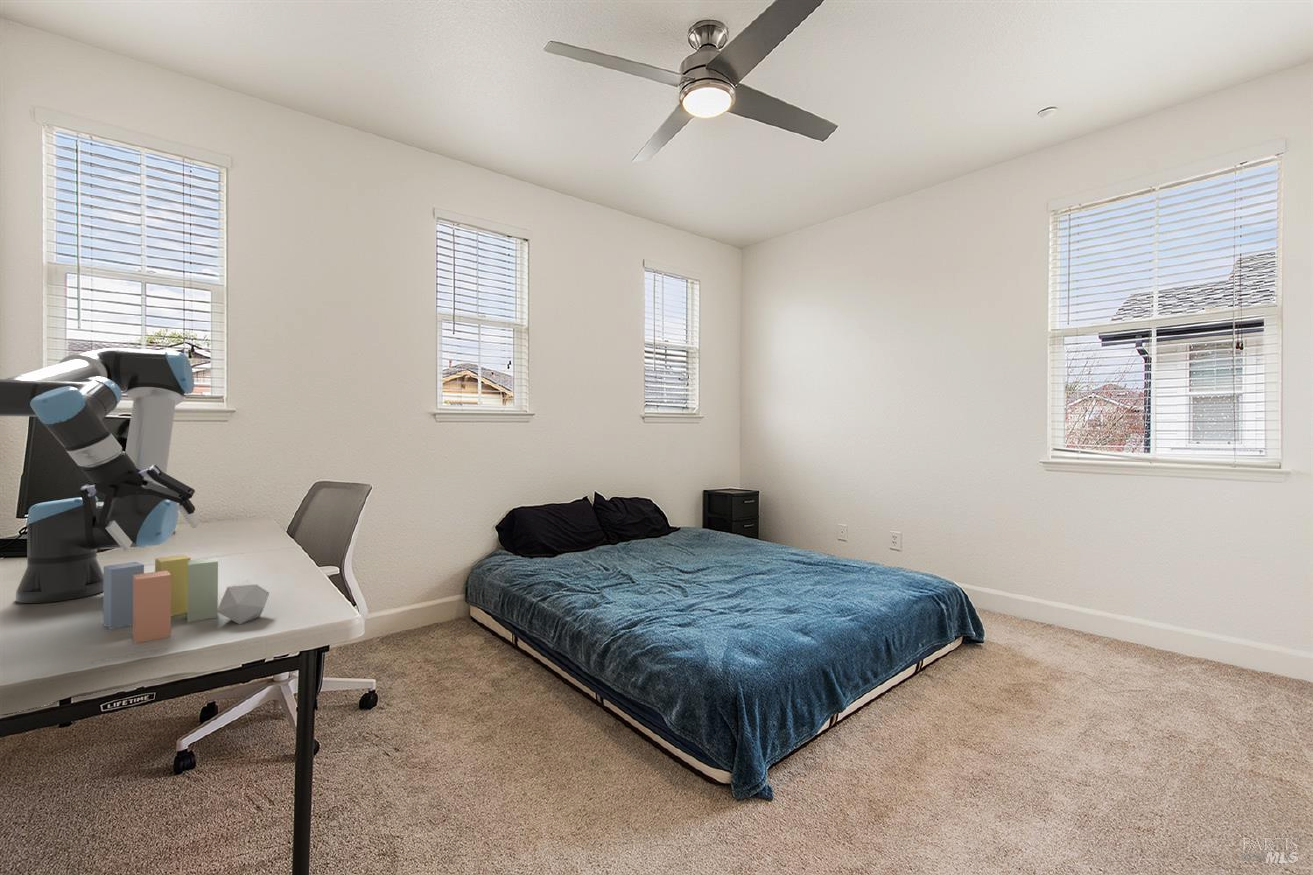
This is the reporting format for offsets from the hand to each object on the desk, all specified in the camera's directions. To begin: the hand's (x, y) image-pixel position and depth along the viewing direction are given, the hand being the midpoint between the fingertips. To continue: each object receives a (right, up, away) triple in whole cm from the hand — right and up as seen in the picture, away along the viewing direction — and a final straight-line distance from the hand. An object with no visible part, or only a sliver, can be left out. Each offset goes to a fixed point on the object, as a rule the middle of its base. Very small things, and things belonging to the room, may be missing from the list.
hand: (162, 535), depth 129 cm
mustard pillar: (+6, -16, -5) cm, 18 cm away
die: (+25, -17, -9) cm, 31 cm away
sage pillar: (+15, -16, -7) cm, 23 cm away
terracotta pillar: (+15, -16, -19) cm, 29 cm away
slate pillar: (+2, -16, -12) cm, 20 cm away
